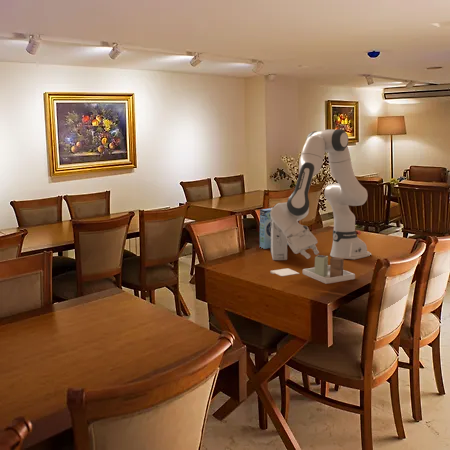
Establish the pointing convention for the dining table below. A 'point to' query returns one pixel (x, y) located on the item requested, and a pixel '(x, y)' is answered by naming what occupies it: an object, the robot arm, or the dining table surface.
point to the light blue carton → (265, 228)
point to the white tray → (328, 276)
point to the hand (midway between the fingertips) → (313, 255)
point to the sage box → (321, 265)
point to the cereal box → (278, 243)
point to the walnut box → (336, 266)
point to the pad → (284, 272)
